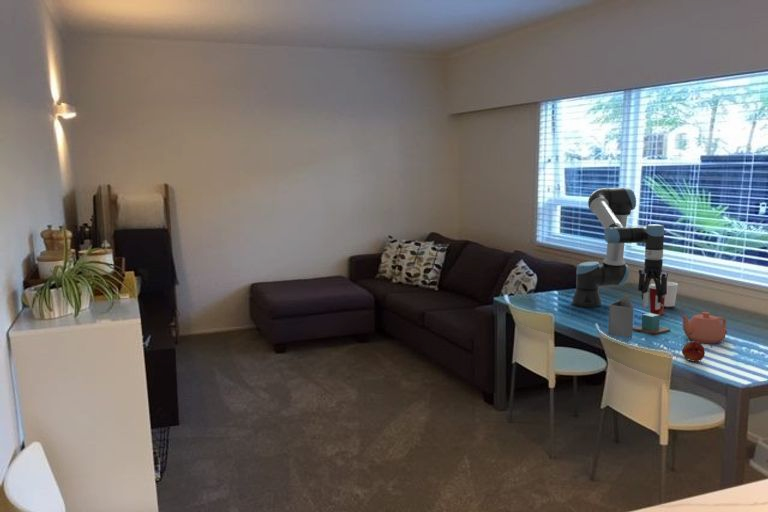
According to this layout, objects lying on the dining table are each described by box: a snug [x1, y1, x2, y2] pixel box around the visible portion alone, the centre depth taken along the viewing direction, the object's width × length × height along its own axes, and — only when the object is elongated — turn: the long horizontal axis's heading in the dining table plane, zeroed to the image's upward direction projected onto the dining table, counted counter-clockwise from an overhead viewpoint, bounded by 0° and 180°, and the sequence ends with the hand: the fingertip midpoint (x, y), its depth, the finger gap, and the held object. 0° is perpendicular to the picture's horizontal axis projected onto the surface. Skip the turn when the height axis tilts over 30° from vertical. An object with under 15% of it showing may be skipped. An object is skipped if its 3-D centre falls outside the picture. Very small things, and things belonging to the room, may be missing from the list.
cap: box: [641, 312, 660, 331], centre depth 276 cm, size 5×5×7 cm
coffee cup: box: [648, 283, 665, 316], centre depth 306 cm, size 8×8×15 cm
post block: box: [633, 324, 671, 336], centre depth 276 cm, size 12×12×6 cm
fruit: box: [681, 341, 706, 362], centre depth 234 cm, size 8×8×8 cm
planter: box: [608, 291, 634, 339], centre depth 273 cm, size 16×8×19 cm, turn 178°
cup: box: [664, 281, 679, 309], centre depth 320 cm, size 10×10×13 cm
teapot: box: [680, 311, 728, 344], centre depth 260 cm, size 22×16×12 cm
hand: (651, 307), depth 275 cm, fingers open, 6 cm apart
